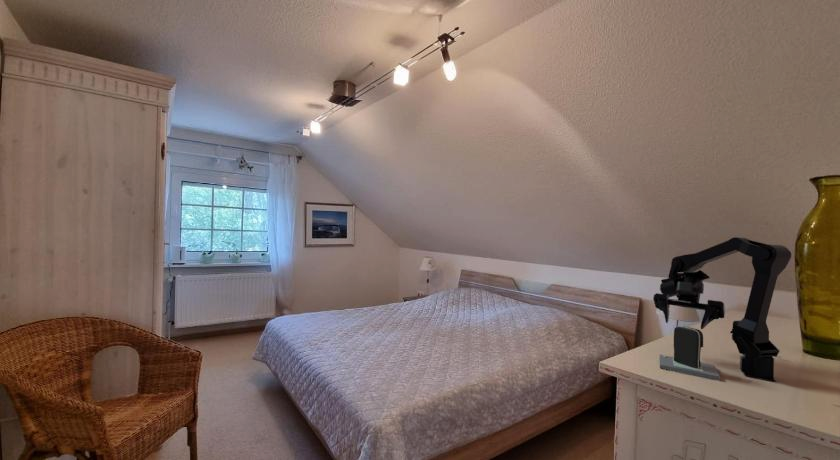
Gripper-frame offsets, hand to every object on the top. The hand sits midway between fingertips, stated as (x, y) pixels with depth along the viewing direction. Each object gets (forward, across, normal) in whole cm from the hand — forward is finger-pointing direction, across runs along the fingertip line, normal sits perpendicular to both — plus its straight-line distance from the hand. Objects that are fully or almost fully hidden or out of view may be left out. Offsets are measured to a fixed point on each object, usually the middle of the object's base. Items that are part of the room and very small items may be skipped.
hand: (683, 325), depth 112 cm
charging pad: (+13, +2, +4) cm, 14 cm away
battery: (+12, +2, +4) cm, 13 cm away
